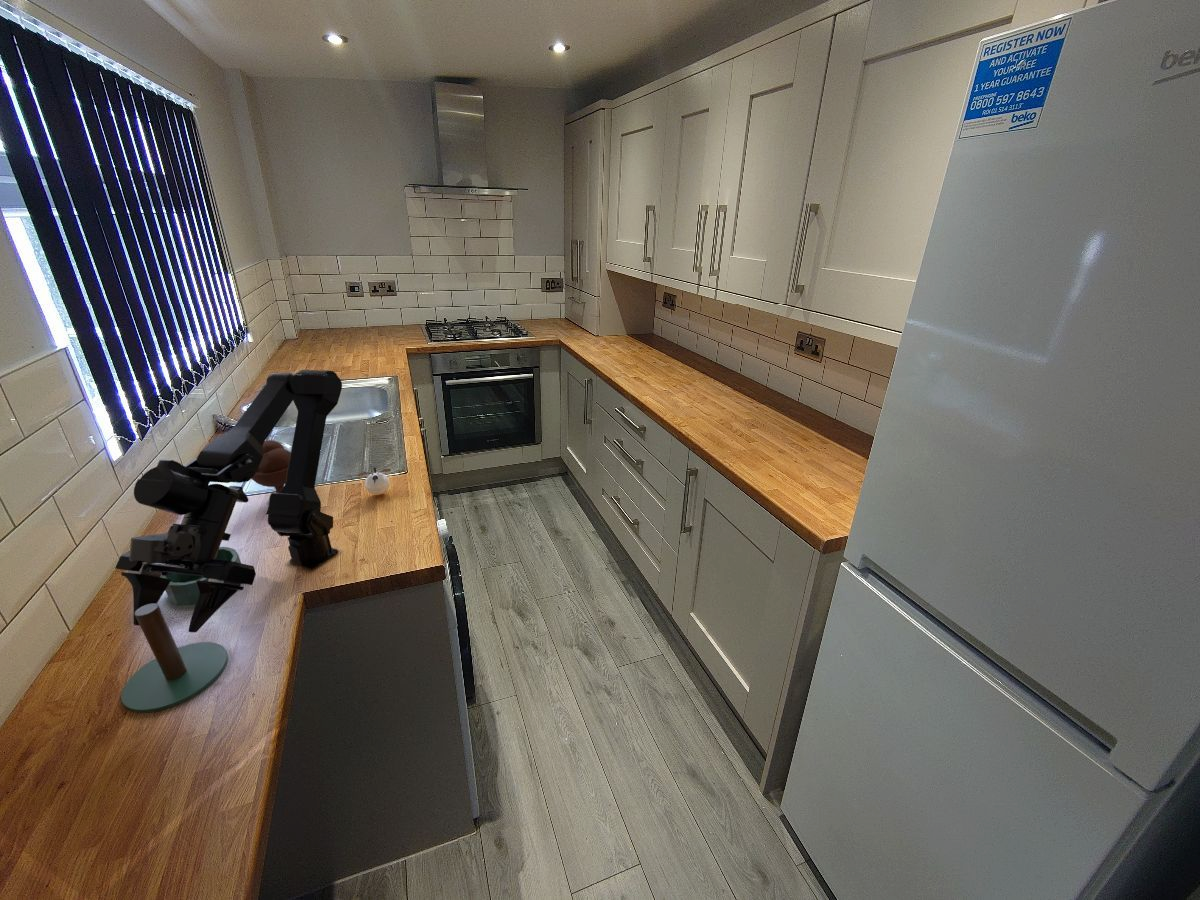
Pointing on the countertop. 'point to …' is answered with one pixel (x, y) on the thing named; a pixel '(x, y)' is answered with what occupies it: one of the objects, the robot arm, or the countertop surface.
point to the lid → (170, 667)
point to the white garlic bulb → (376, 482)
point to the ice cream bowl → (273, 465)
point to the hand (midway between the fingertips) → (164, 628)
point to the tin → (193, 580)
